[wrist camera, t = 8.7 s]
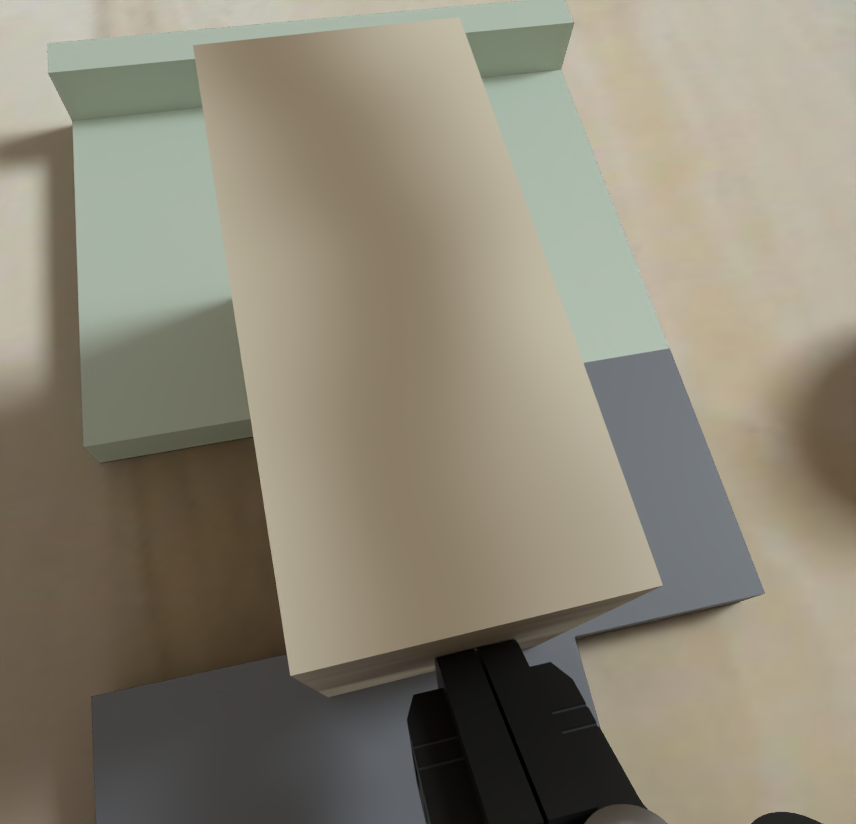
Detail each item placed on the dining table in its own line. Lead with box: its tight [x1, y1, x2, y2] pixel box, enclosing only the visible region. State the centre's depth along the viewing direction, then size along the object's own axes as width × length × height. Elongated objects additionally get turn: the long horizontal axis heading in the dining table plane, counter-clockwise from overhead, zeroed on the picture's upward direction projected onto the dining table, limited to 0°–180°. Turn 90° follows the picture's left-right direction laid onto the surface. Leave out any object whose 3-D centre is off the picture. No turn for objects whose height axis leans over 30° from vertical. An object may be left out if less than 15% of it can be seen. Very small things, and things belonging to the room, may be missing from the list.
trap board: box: [48, 0, 765, 824], centre depth 16 cm, size 16×40×3 cm, turn 12°
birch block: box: [193, 17, 663, 697], centre depth 15 cm, size 5×11×8 cm, turn 13°
